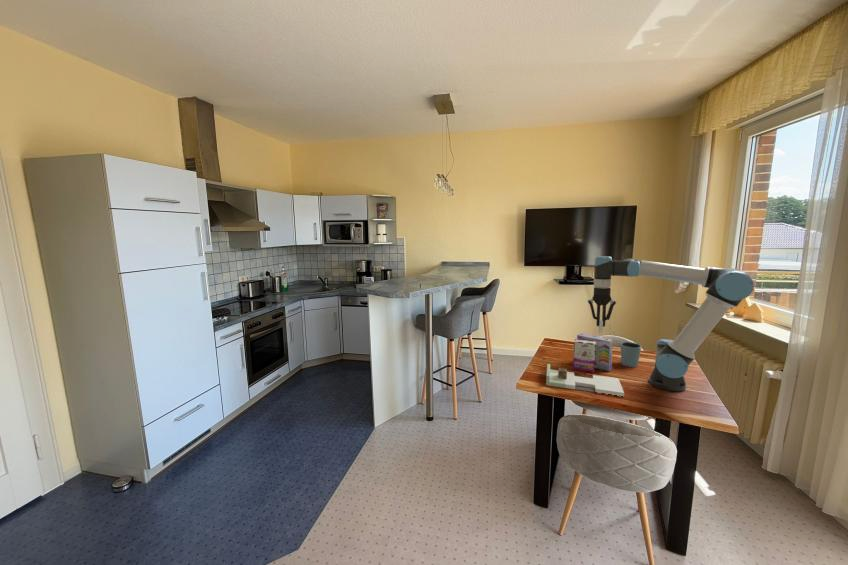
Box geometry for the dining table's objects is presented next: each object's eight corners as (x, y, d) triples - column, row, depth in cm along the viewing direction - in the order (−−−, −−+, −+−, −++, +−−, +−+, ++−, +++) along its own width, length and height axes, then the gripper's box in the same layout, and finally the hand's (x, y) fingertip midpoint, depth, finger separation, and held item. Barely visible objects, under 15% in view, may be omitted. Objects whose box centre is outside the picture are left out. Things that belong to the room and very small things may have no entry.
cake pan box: (573, 362, 201) (575, 333, 199) (577, 360, 205) (579, 331, 202) (608, 372, 187) (610, 341, 184) (611, 369, 190) (614, 339, 188)
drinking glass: (643, 367, 193) (645, 347, 191) (624, 367, 193) (626, 347, 191) (632, 361, 203) (634, 341, 201) (615, 360, 203) (617, 341, 201)
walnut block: (566, 376, 178) (566, 368, 177) (566, 379, 174) (566, 371, 173) (558, 374, 179) (558, 367, 179) (558, 378, 176) (558, 370, 175)
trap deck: (618, 382, 175) (619, 373, 174) (623, 396, 160) (624, 386, 159) (547, 372, 187) (547, 363, 186) (546, 385, 172) (546, 375, 171)
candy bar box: (594, 369, 191) (597, 341, 188) (594, 372, 186) (596, 344, 184) (573, 365, 196) (575, 338, 193) (572, 369, 192) (574, 341, 189)
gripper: (588, 288, 170) (587, 333, 173) (618, 288, 165) (616, 335, 168) (587, 285, 176) (585, 329, 180) (615, 286, 172) (613, 331, 175)
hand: (600, 332), depth 174 cm, fingers closed
